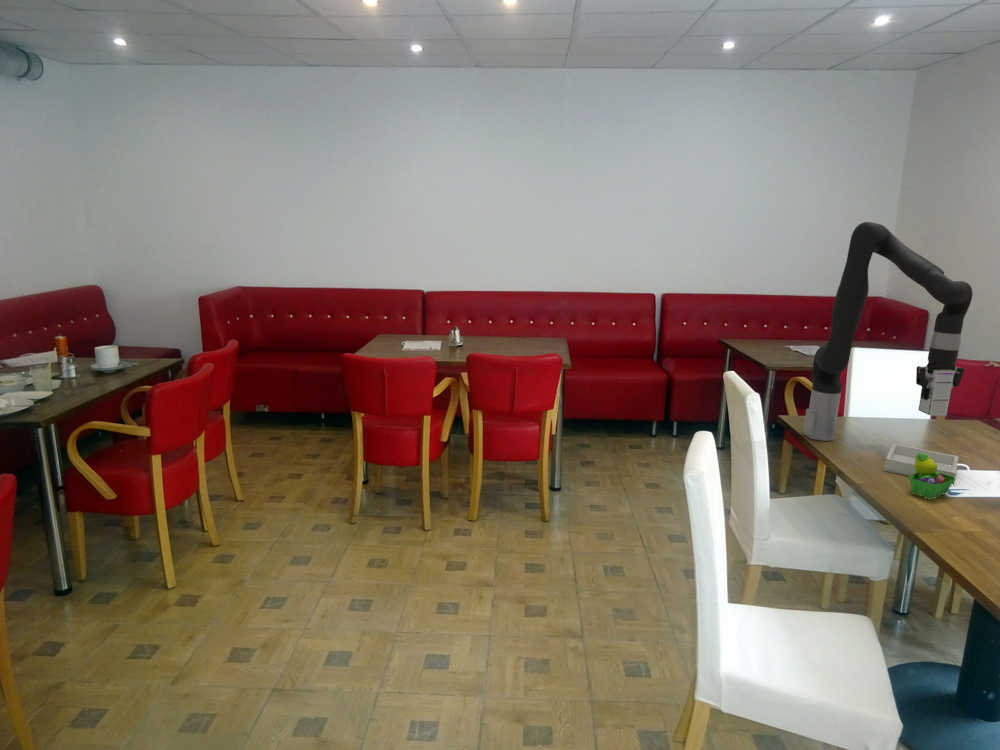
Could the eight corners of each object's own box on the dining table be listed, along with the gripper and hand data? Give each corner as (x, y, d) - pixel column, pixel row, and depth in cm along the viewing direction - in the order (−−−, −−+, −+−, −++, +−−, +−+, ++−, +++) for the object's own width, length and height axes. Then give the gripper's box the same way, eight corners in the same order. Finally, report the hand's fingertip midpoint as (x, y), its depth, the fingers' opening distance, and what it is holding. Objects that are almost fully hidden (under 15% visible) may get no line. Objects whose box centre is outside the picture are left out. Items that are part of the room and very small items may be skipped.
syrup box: (947, 416, 202) (956, 370, 198) (928, 415, 202) (937, 370, 198) (935, 410, 207) (943, 366, 204) (916, 410, 207) (924, 366, 204)
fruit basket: (933, 503, 180) (941, 464, 177) (900, 491, 187) (907, 454, 184) (953, 494, 185) (961, 457, 183) (920, 483, 193) (927, 447, 190)
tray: (953, 485, 192) (955, 473, 191) (883, 470, 202) (885, 458, 201) (956, 468, 206) (958, 456, 205) (891, 454, 216) (893, 443, 215)
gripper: (930, 348, 195) (920, 402, 199) (976, 349, 196) (965, 402, 200) (913, 344, 203) (904, 396, 207) (957, 344, 203) (948, 396, 207)
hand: (934, 399), depth 203 cm, fingers closed on syrup box, 6 cm apart
